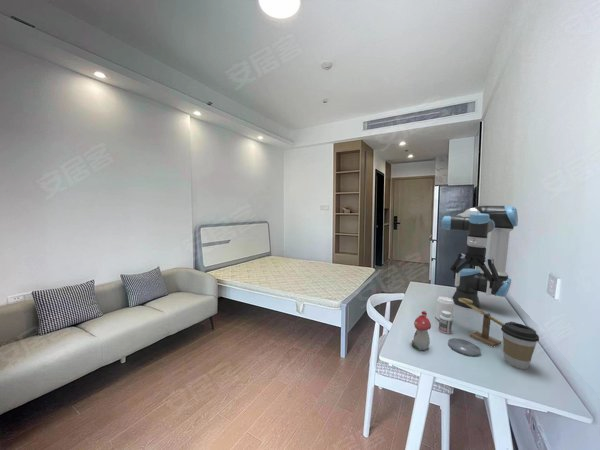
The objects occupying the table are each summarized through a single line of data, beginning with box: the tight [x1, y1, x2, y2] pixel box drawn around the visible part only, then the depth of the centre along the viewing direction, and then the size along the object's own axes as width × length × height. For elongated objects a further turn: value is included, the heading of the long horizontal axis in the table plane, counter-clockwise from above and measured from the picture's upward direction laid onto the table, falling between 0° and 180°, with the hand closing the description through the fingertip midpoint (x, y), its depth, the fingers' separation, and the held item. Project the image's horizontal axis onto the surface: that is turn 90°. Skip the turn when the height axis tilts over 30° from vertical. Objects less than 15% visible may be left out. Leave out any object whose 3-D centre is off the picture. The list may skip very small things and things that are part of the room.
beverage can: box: [435, 296, 455, 322], centre depth 133 cm, size 8×8×12 cm
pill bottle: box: [438, 311, 453, 334], centre depth 121 cm, size 5×5×10 cm
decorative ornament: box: [411, 310, 432, 351], centre depth 106 cm, size 9×7×15 cm
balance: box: [458, 298, 517, 348], centre depth 114 cm, size 7×26×16 cm, turn 27°
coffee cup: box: [500, 321, 540, 370], centre depth 97 cm, size 11×11×15 cm
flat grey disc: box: [447, 337, 482, 358], centre depth 107 cm, size 12×12×1 cm
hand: (471, 290), depth 115 cm, fingers open, 13 cm apart
